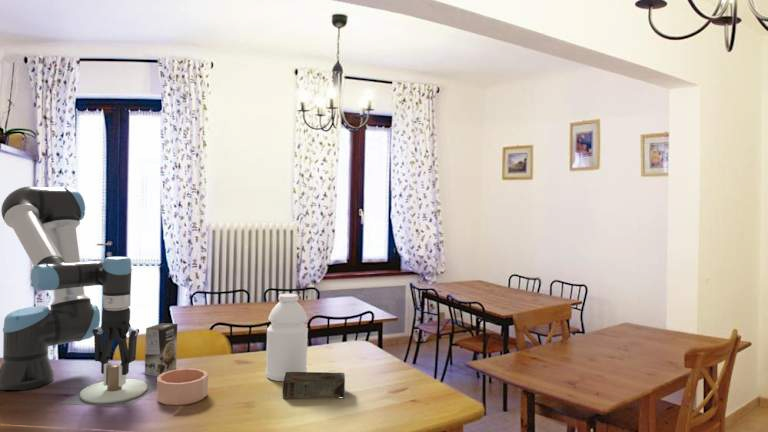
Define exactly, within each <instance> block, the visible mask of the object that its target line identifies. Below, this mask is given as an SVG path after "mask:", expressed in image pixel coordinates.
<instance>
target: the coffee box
mask: <svg viewBox="0 0 768 432" xmlns="http://www.w3.org/2000/svg"><path fill="white" fill-rule="evenodd" d="M177 342H178V323H169V322H168V323H165V322H161V323H158V324H155V325H151V326H149V327H146V329H145V349H144V350H145V351H144V352H145V353H144V375H147V376H153V377H154V376H156V377H158V376H159V375H161V374H162V373H164V372H168V371H171V370H176V369H177V354H178V353H177V350H178V343H177Z"/></svg>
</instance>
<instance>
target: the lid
mask: <svg viewBox="0 0 768 432" xmlns="http://www.w3.org/2000/svg"><path fill="white" fill-rule="evenodd" d="M120 364H121V363H114V364H111V365H109V366H108V374H107V385H106V386H103V382H99V381H98V382H99V383H98V382H96V383H92V384H90V385H88V386H86V387H84V388H83V389H82V390H81V391H80V392H79V393H80V398H81V400H83V401H85V402H88V403H95V404H107V403H116V402H122V401H126V400H130V399H133V398H136V397H138V396H140V395H142V394H144V393H145V392H146V391H147V384H146V383H145V382H146V381H143V380H140V379H135V378H134V379H133V378H126V384H124V385H122V386H121V387H120V386H118V382H119V365H120Z"/></svg>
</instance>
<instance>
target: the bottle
mask: <svg viewBox="0 0 768 432" xmlns="http://www.w3.org/2000/svg"><path fill="white" fill-rule="evenodd" d="M298 301H299V295H298V294H296V293H281V294H279V295H278V303H276V304H275V305H274V307H272V309H271V311H270V313H269V316H268V321H269V322H270V325H269V326H268V327H267V328H266V354H265V355H266V356H265V357H266V359H265V361H266V362H265V363H266V364H265V365H266V367H265V376H266V377H267V378H268V379H269V380H272V381H275V382H283V381H284V377H285V374H286V372H308V371H307V370H308V368H307V363H308V362H307V360H308V359H307V358H308V335H309V334H308V332H309V328H308V326H307V325H306V324H305V322H306V321H307V320H308V316H307V313H306V310H305V309H304V307H303V306H302V305H301V304H300V303H299V302H298Z"/></svg>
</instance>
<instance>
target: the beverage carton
mask: <svg viewBox="0 0 768 432" xmlns="http://www.w3.org/2000/svg"><path fill="white" fill-rule="evenodd" d="M345 379H346V374H345V373H344V372H319V371H318V372H316V371H314V372H313V371H310V372H309V371H306V372H286V374H285V377H284V381H282V399H283V400H284V399H286V400H292V399H295V400H296V399H297V400H299V399H301V400H302V399H303V398H335V399H340V398H339V397H344V398H345V394H346V393H345V386H346V385H345V383H346V380H345Z"/></svg>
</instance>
